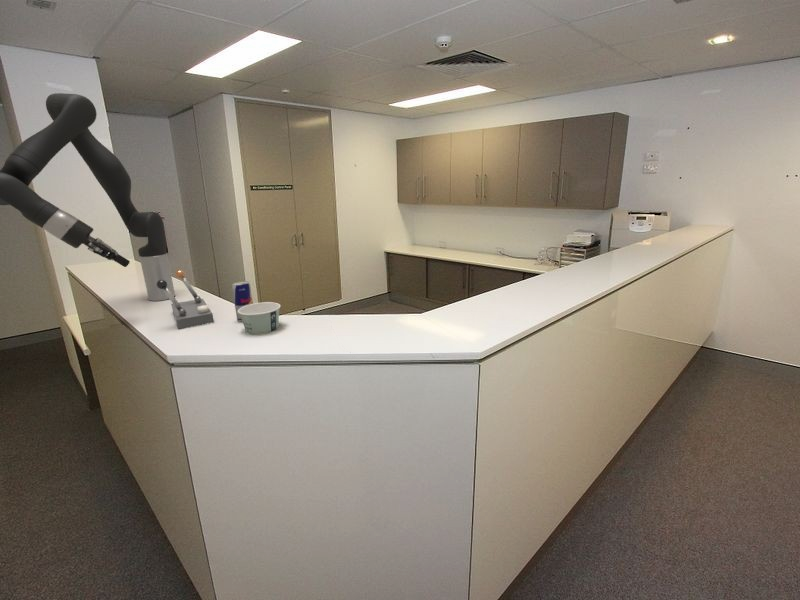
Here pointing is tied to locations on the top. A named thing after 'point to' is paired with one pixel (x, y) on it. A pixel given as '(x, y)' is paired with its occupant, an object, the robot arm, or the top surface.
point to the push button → (203, 308)
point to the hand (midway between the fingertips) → (127, 264)
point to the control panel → (192, 314)
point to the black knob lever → (171, 296)
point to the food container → (260, 317)
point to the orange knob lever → (187, 285)
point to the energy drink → (241, 296)
